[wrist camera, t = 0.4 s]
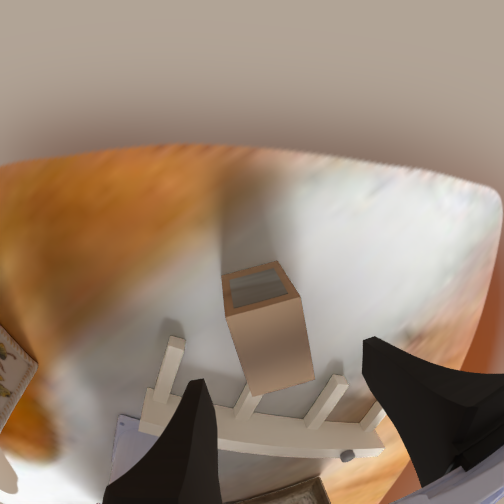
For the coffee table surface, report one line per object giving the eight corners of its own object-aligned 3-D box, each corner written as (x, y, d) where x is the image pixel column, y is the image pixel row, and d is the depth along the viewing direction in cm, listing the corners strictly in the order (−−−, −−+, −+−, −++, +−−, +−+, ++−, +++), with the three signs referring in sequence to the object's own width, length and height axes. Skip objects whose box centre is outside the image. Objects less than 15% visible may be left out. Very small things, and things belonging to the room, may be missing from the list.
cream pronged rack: (364, 432, 29) (379, 460, 25) (144, 398, 24) (137, 436, 19) (400, 383, 27) (422, 411, 23) (162, 332, 22) (154, 370, 18)
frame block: (292, 331, 23) (314, 379, 18) (242, 344, 23) (252, 397, 17) (277, 259, 21) (300, 295, 16) (221, 274, 21) (225, 316, 16)
